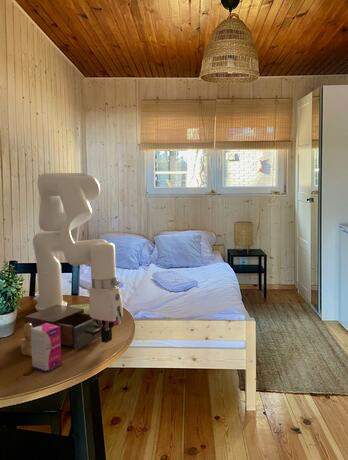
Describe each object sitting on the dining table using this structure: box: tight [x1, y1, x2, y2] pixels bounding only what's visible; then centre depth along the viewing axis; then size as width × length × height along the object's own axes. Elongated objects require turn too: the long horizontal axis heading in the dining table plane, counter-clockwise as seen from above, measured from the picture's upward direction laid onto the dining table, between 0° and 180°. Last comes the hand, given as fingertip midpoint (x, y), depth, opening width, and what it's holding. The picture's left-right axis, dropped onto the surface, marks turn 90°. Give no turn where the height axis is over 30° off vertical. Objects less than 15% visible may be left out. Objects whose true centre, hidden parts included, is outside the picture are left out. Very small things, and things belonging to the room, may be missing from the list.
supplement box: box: [31, 323, 62, 373], centre depth 117 cm, size 6×6×12 cm
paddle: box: [20, 323, 32, 357], centre depth 126 cm, size 5×2×10 cm, turn 62°
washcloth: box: [68, 303, 89, 314], centre depth 162 cm, size 13×18×3 cm
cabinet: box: [24, 305, 84, 328], centre depth 140 cm, size 12×14×8 cm
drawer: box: [55, 313, 101, 350], centre depth 134 cm, size 15×13×7 cm
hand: (106, 340), depth 130 cm, fingers closed
